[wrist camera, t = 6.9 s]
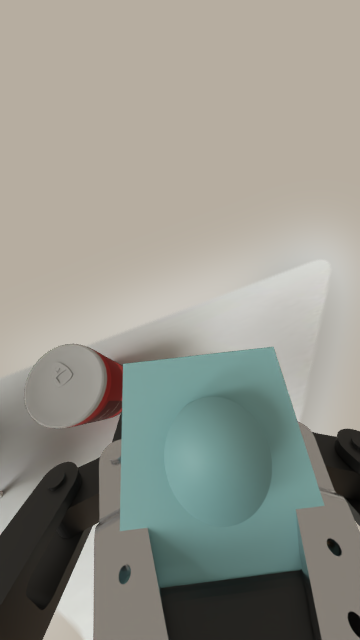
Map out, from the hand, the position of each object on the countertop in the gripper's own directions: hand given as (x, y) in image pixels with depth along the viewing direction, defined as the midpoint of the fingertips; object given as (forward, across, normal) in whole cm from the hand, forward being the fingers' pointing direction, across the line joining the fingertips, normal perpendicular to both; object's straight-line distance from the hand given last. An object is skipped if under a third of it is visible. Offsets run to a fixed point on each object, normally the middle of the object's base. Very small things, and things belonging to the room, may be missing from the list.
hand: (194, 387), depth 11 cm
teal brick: (+2, 0, +4) cm, 5 cm away
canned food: (+14, +12, +11) cm, 21 cm away
